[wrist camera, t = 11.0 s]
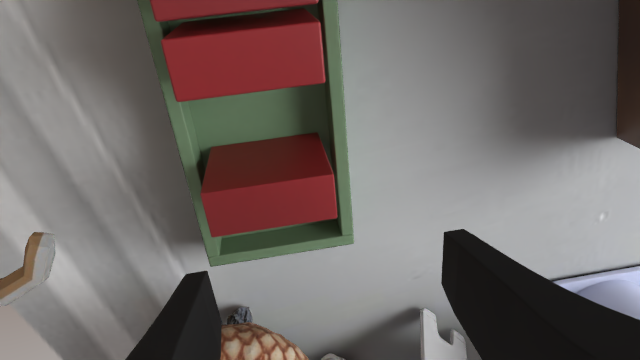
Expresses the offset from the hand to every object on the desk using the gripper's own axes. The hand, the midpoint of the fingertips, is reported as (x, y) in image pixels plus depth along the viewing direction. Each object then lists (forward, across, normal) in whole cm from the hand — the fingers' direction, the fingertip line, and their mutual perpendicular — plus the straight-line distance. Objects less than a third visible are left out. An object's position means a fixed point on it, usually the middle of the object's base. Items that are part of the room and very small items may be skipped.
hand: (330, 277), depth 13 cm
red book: (+9, +2, 0) cm, 9 cm away
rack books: (+9, +2, -7) cm, 11 cm away
